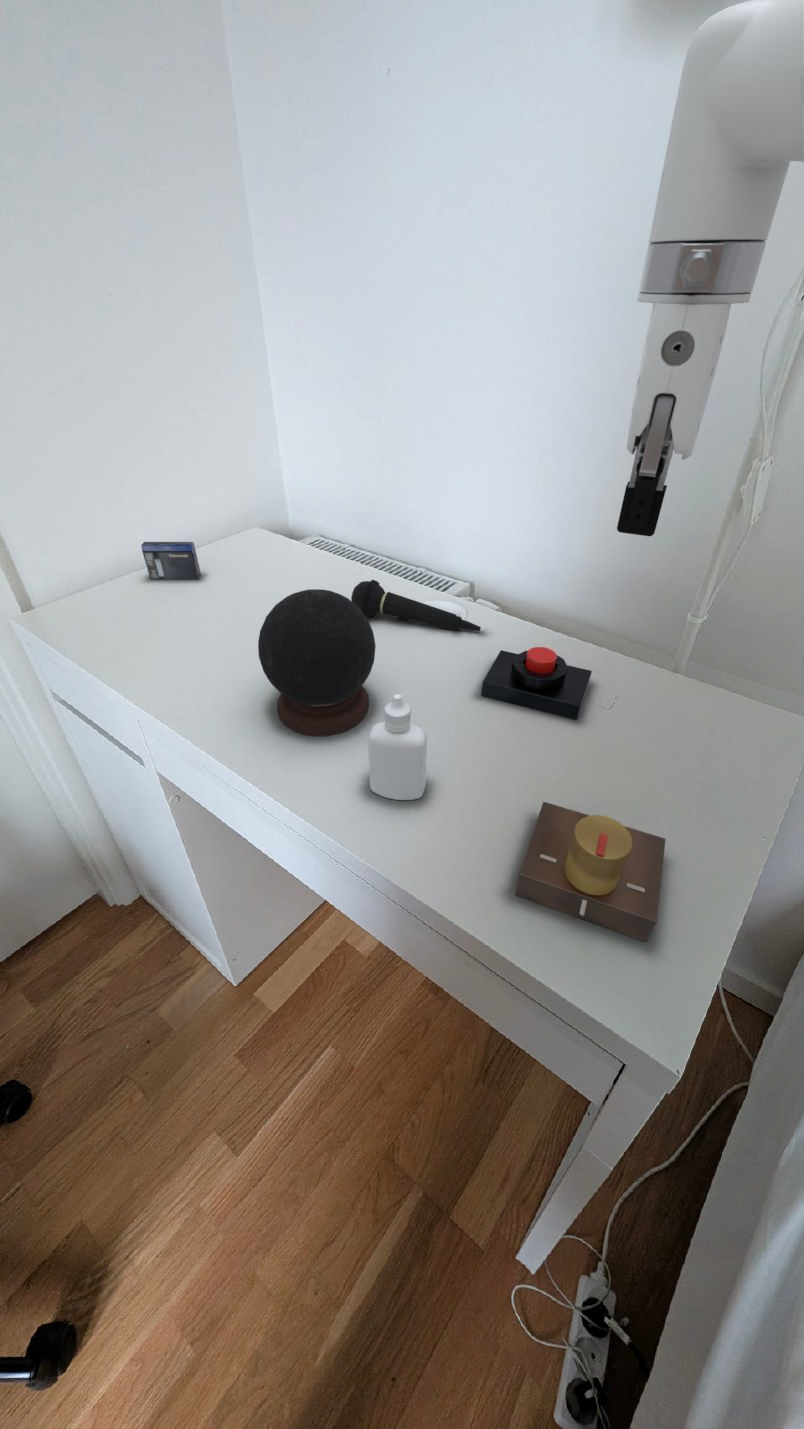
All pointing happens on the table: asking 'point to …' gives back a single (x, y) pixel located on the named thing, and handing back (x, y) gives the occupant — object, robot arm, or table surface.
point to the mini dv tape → (171, 560)
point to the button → (541, 660)
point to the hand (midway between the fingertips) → (635, 530)
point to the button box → (537, 685)
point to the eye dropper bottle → (397, 754)
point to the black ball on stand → (318, 661)
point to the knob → (597, 854)
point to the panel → (617, 910)
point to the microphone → (403, 607)
